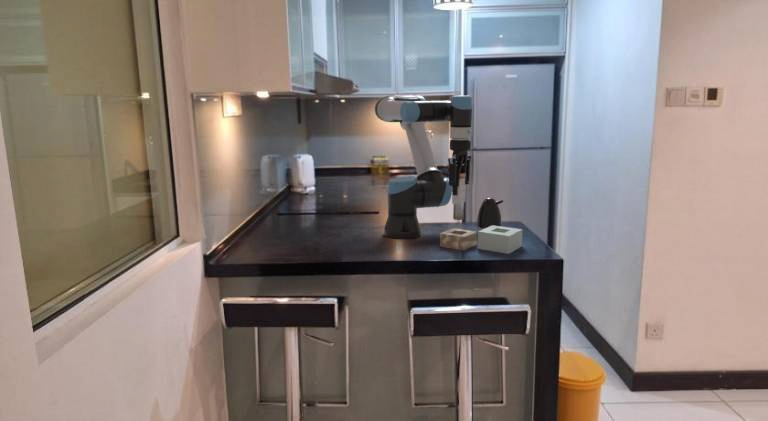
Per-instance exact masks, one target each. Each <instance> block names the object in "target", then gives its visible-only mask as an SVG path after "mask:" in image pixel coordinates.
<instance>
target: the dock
mask: <svg viewBox="0 0 768 421" xmlns="http://www.w3.org/2000/svg"><path fill="white" fill-rule="evenodd" d="M523 231H524V230H523V229H522V228H514V227H509V226H508V227H507V226H502V227H501V226H494V225H492V226H490V227H488V228H485V229H483V230H481V231H478V230H477V249H478V250H483V251H488V252H489V251H490V252H493V253H495V252H496V253H502V254H507V255H509V254H511V253H513V252H514V251H516V250H518V249H520V248H521V247H522V245H523Z"/></svg>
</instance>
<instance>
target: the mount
mask: <svg viewBox="0 0 768 421" xmlns="http://www.w3.org/2000/svg"><path fill="white" fill-rule="evenodd" d="M439 235H440V236H439V238H440V240H439V241H440V242H439V246H440V247H442V248H447V249H453V250H457V251H466V250H468V249H470V248H472V247H475V246H478V231H477V230H476V231H475V230H467V229H460V228H451V229H447V230H446V231H443V232H440V234H439Z"/></svg>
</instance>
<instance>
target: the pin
mask: <svg viewBox="0 0 768 421" xmlns="http://www.w3.org/2000/svg"><path fill="white" fill-rule="evenodd" d="M465 177H466V173H461V172H460V178H459V186H460V204H453V203H452V204H453V207H452V211H453V212H452V219H453V220H455V221H463V220H464V218H465V202H464V197H465Z"/></svg>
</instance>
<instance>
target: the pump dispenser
mask: <svg viewBox="0 0 768 421" xmlns="http://www.w3.org/2000/svg"><path fill="white" fill-rule="evenodd" d="M502 203H504V200H503V199H500V200H496V199H494V198H493V197H486V198H485V199H483V201H482V202H481V205H480V207H479V209H478V212H477V217H476V224H475V226H476V228H477V232H478V231H481V230H483V229H485V228H488V227H490V226H492V225H494V226H501V227H503V220H502V214H501V213H502V212H501V210H500V207H499V205H500V204H502Z"/></svg>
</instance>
